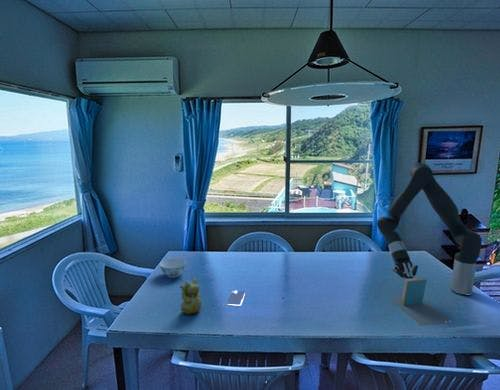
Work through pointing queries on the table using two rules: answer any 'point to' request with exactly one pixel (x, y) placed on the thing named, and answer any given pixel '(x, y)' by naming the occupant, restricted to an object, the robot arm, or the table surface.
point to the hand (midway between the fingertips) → (412, 285)
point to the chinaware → (173, 266)
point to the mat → (422, 313)
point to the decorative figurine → (190, 297)
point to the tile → (413, 291)
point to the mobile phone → (236, 298)
